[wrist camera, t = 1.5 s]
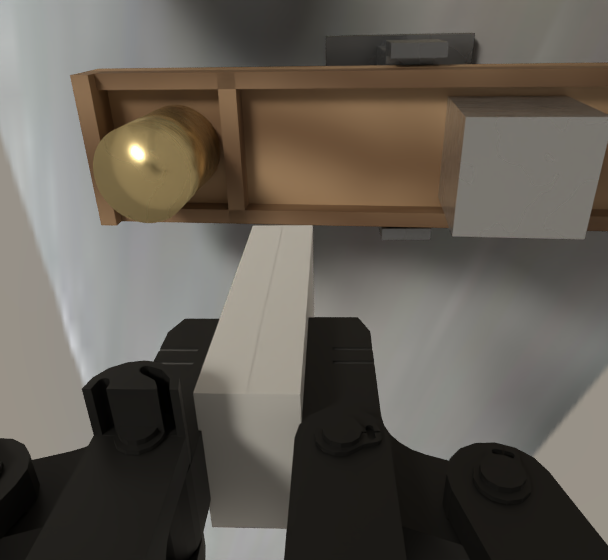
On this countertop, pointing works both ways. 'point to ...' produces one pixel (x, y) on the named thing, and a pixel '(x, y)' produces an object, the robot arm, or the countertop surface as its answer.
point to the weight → (156, 163)
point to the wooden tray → (324, 134)
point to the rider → (520, 166)
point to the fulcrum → (400, 53)
